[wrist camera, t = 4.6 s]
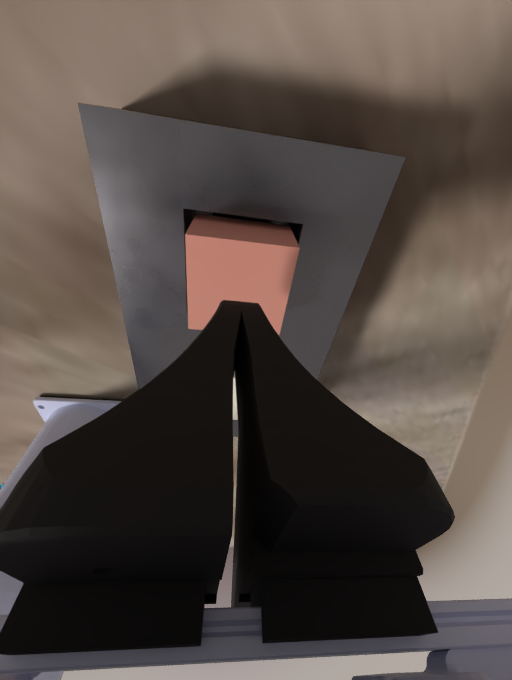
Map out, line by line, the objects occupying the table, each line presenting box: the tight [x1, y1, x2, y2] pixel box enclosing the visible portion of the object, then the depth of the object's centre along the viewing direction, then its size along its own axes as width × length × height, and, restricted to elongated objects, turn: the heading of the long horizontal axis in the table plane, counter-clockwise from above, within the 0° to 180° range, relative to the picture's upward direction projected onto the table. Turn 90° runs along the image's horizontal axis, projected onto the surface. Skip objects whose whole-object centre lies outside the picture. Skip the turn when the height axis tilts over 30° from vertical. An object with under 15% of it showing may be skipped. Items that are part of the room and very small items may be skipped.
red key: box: [185, 214, 300, 335], centre depth 13 cm, size 4×4×3 cm
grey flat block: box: [78, 103, 406, 437], centre depth 17 cm, size 20×12×4 cm, turn 172°
